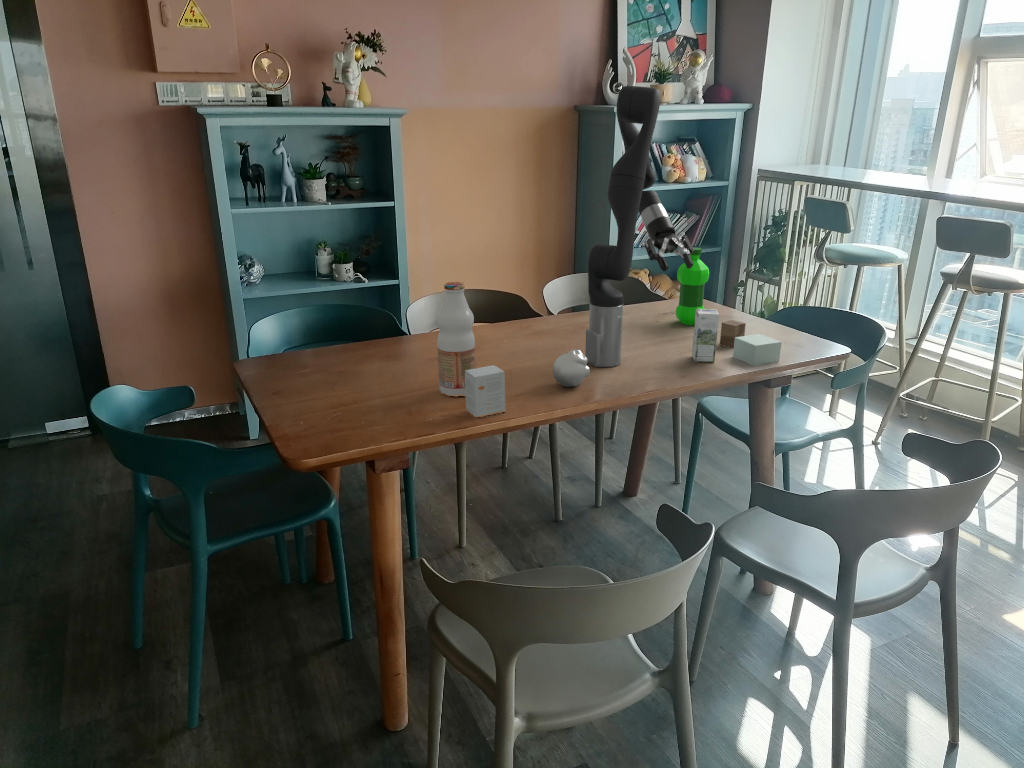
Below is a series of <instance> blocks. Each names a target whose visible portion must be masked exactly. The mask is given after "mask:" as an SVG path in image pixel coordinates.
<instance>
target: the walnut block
mask: <svg viewBox="0 0 1024 768" xmlns="http://www.w3.org/2000/svg"><path fill="white" fill-rule="evenodd" d="M720 328H721V329H720V336H719V337H720V339H719V345H720V344H722V345H721V346H723V345H725V346H724V347H727V346H729V347H728V348H731V349H734V342H735V337H741V336H746V335H745V333H746V322H743V321H738V320H733V319H729V320H726V321H723V322H721V327H720Z"/></svg>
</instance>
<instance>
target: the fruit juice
mask: <svg viewBox="0 0 1024 768" xmlns="http://www.w3.org/2000/svg"><path fill="white" fill-rule="evenodd" d="M443 285H444V287H443V288H444V292H445V294H444V298H443V301H442V304H441V307H440V309H439V311H438V313H437V316H436V322H437V323H436V324H437V326H438V330H439V331H438V335H437V342H436V344H437V363H438V367H437V369H438V386H439V387H438V389H439V392H440V391H441V392H442V393H444V394H448V395H466V391H465V370H470V369H476V367H477V366H476V339H475V337H476V336H475V335H474V332H473V327H474V323H475V322H474V321H475V317H474V313H473V311H472V310H471V309H470V306H469V304H468V301H467V298H466V296H465V294H464V291H465V283H463V282H460V281H449V282H445V283H444V284H443ZM441 392H440V393H441Z"/></svg>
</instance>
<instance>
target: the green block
mask: <svg viewBox="0 0 1024 768" xmlns="http://www.w3.org/2000/svg"><path fill="white" fill-rule="evenodd" d="M781 349H782V341H780V340H777V339H775V338H772V337H770V336H766V335H764V334H761V333H756V334H750V335H744V336H741V337H735V342H734V348H733V353H732V354H733V355H732V357H734V358H735V359H738V360H740V361H742V362H745V363H746V364H749V365H751V366H759V365H765V364H766V365H767V364H771V363H778V362H780V358H781Z"/></svg>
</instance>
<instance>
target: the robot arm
mask: <svg viewBox="0 0 1024 768" xmlns="http://www.w3.org/2000/svg"><path fill="white" fill-rule="evenodd" d="M617 95H618V96H617V100H616V118H617V123H618V127H619V131H620V134H621V138H622V142H623V147H624V149H623V150H624V153H623V154H622V156H620V158H619V159H618V160H617V161H616V162H615V164H614V165H613V167H612V169H611V171H610V177H609V181H608V188H607V199H608V204H609V206H610V209H611V211H612V214H613V216H614V219H615V222H616V225H617V242H616V245H613V244H604V243H603V244H602V243H599V244H597V243H596V244H595V245H593V247H592V248H591V250H590V251H589V255H588V259H587V260H588V262H587V276H588V277H587V281H588V285H587V286H588V288H587V289H588V296H589V314H588V315H589V316H588V317H589V318H588V321H589V322H588V328H587V329H586V330H585V351H584V353H585V354H584V355H585V356H586V358H587V360H588V361H587V364H589V365H591V366H593V367H595V368H611V367H617V366H618V365H621V361H622V360H621V359H622V358H621V357H622V342H623V341H622V337H623V336H622V335H623V315H624V295H623V293H622V291H620V290H618V289H617V288H615V287H613V286H612V285H611V284H610V282H609V281H617V282H622V281H623V282H624V281H625V280H626V279H627V278H628V277H629V274H630V273H631V268H632V261H633V256H634V255H633V253H634V245H635V235H636V229H637V228H636V227H637V220H638V214H640V217H641V220H642V223H643V225H644V228H645V230H646V232H647V234H648V236H649V238H648V239H647V240H646V241H645V242H644V248H645V250H646V251H645V252H646V254H647V256H648V259H649V260H650V261H655V262H657V264H658V266H659V269H660V270H661V271H663V272H667V271H668V270H669V265H668V263H667V260H666V258H665V256H664V254H673V253H674V254H675V255H677V256H678V255H679V256H680V257H681V258H682V260H683V263H685V264H686V266H687V268H688V269H690V268H691V267H692V266H693V261H692V259H691V256H690V255H691V254H692V252H693V251H694V249H693V248H694V247H693V245H692V244H691V242H690V239H689V238H688V236H687V235H686V234H684V235H683V236H681V237H679V236H678V235H676V229H675V227H674V224H673V222H672V220H671V218H670V216H669V213H668V212H667V210H666V208H665V207H664V206H663V203H662V201H661V198H660V197H659V195H658V193H657V192H656V190H651V189H649V188H651V187H652V186H654V184H655V182H656V175H655V173H654V169H653V168H652V167H651V164H650V148H651V144H652V140H653V136H654V132H655V129H656V128H655V127H656V123H657V120H658V115H659V113H660V112H659V111H660V107H661V106H660V105H661V97H662V96H661V92H660V89H658V88H657V87H649V86H635V85H624V86H622V87H621V88H620V90H619V93H618V94H617ZM635 124H638V125H641V128H640V130H639V128H638V127H637V125H635ZM647 189H649V190H647ZM656 249H657V251H656Z"/></svg>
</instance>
